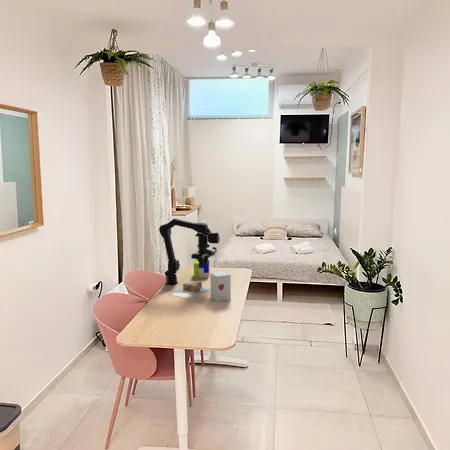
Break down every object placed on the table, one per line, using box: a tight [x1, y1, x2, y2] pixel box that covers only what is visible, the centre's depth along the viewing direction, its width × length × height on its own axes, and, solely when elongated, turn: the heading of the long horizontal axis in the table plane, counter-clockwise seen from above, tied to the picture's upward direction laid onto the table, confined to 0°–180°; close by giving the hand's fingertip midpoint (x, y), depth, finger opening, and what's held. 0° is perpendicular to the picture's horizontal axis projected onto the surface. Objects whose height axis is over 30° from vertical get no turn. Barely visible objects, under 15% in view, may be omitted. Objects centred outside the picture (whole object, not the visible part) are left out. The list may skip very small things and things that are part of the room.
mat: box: [166, 287, 211, 300], centre depth 265 cm, size 18×22×1 cm
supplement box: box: [209, 271, 232, 303], centre depth 250 cm, size 9×9×15 cm
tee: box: [182, 280, 203, 293], centre depth 270 cm, size 10×10×4 cm
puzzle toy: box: [193, 259, 210, 279], centre depth 302 cm, size 10×10×10 cm
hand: (203, 267), depth 277 cm, fingers open, 3 cm apart
